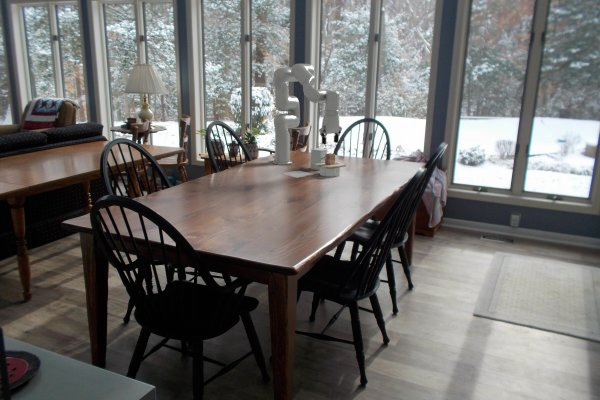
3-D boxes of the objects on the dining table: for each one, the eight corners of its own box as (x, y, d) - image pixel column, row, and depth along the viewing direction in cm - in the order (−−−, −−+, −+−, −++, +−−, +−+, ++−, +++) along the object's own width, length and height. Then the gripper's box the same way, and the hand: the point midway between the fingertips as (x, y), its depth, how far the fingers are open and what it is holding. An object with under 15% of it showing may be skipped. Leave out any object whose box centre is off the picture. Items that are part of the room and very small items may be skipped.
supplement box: (320, 171, 300) (320, 150, 296) (310, 169, 304) (310, 149, 301) (327, 169, 305) (327, 148, 302) (317, 167, 310) (317, 147, 306)
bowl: (316, 174, 290) (316, 165, 288) (329, 172, 297) (330, 163, 295) (329, 178, 282) (329, 168, 280) (343, 175, 289) (343, 166, 287)
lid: (314, 165, 288) (314, 153, 287) (330, 162, 297) (330, 151, 295) (329, 169, 279) (329, 156, 277) (345, 166, 287) (346, 154, 285)
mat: (281, 174, 290) (281, 173, 290) (299, 171, 299) (299, 170, 299) (296, 178, 280) (296, 177, 280) (314, 175, 288) (315, 174, 288)
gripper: (337, 111, 288) (336, 140, 293) (315, 113, 277) (314, 143, 282) (347, 113, 282) (345, 143, 287) (325, 114, 272) (323, 145, 277)
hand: (330, 143), depth 285 cm, fingers open, 9 cm apart
